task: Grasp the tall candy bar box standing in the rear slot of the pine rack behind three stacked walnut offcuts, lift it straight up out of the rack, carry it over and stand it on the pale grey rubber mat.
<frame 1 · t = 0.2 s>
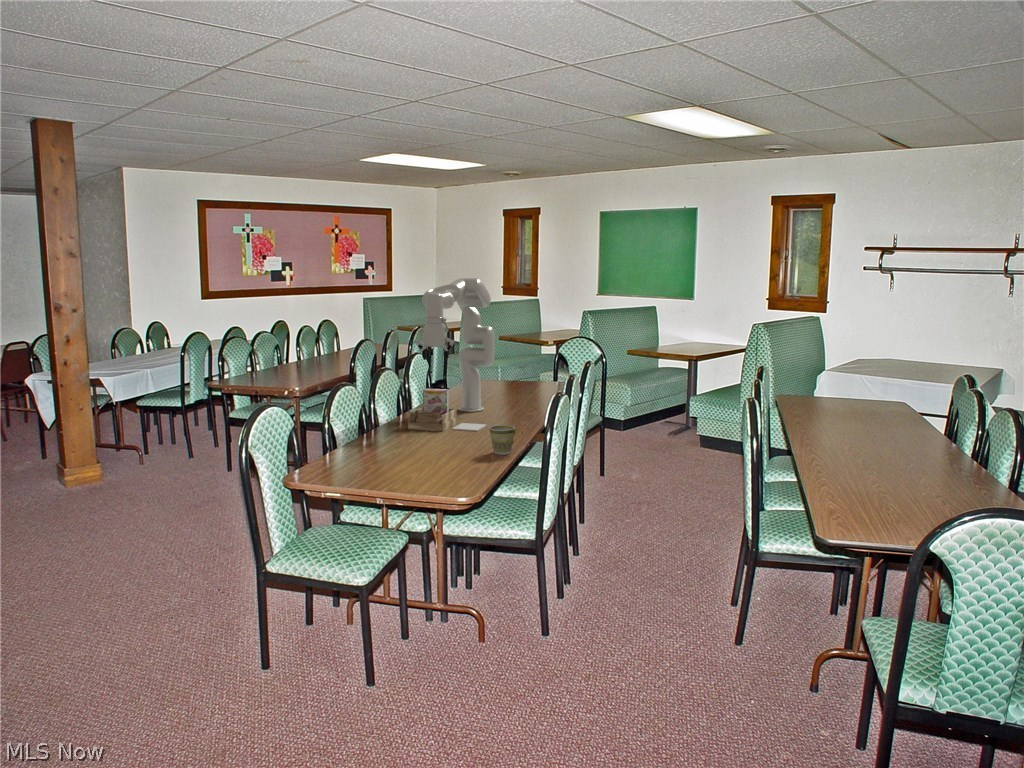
hand: (435, 359, 334), 31 cm above the table, fingers open, 9 cm apart
candy bar box: (436, 425, 345), on the table
rack: (432, 426, 342), on the table
ceramic cup: (506, 453, 293), on the table
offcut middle: (430, 424, 338), point 2 cm above the table, touching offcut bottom, offcut top
mat: (469, 427, 338), on the table
offcut top: (429, 418, 337), point 4 cm above the table, touching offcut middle
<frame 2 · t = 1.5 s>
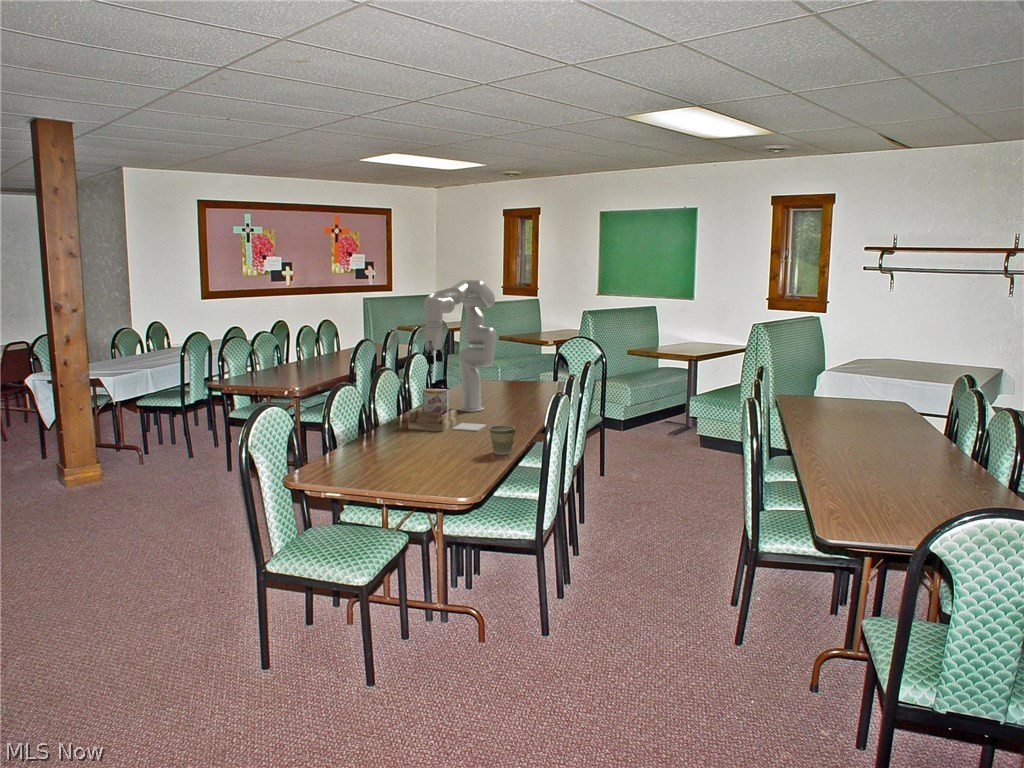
hand: (434, 362, 341), 29 cm above the table, fingers open, 9 cm apart
nothing on the table moved.
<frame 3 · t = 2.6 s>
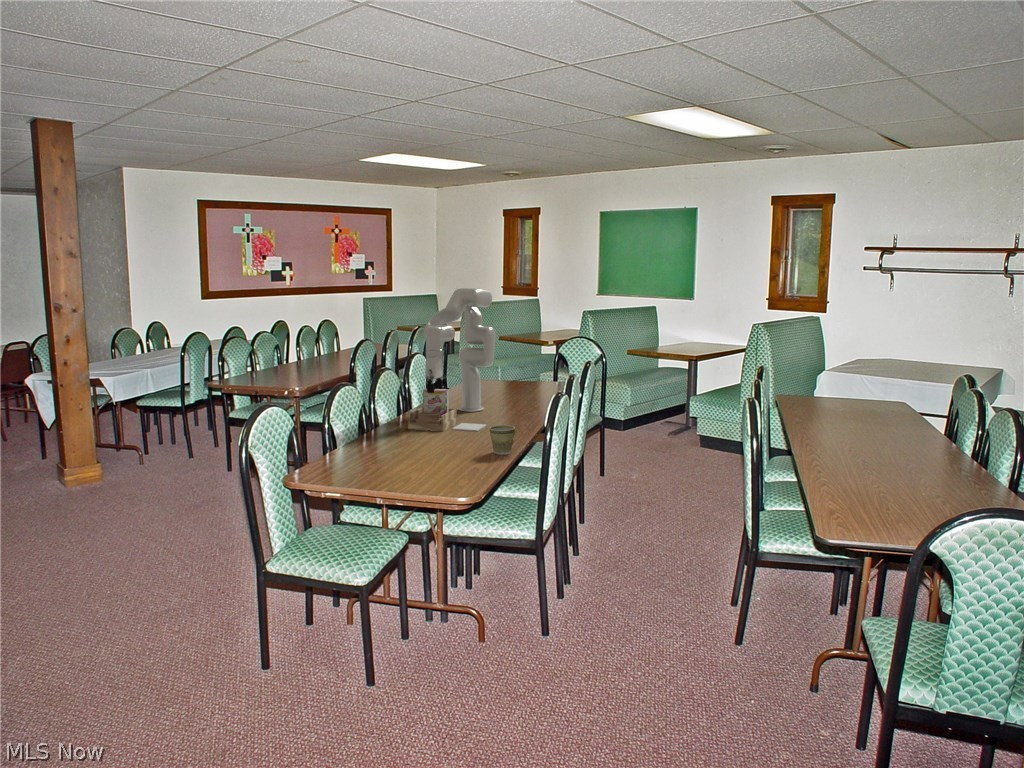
hand: (434, 391, 342), 16 cm above the table, fingers open, 9 cm apart
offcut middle: (430, 424, 338), point 2 cm above the table, touching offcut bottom
offcut top: (429, 418, 337), point 4 cm above the table
everything else where it was.
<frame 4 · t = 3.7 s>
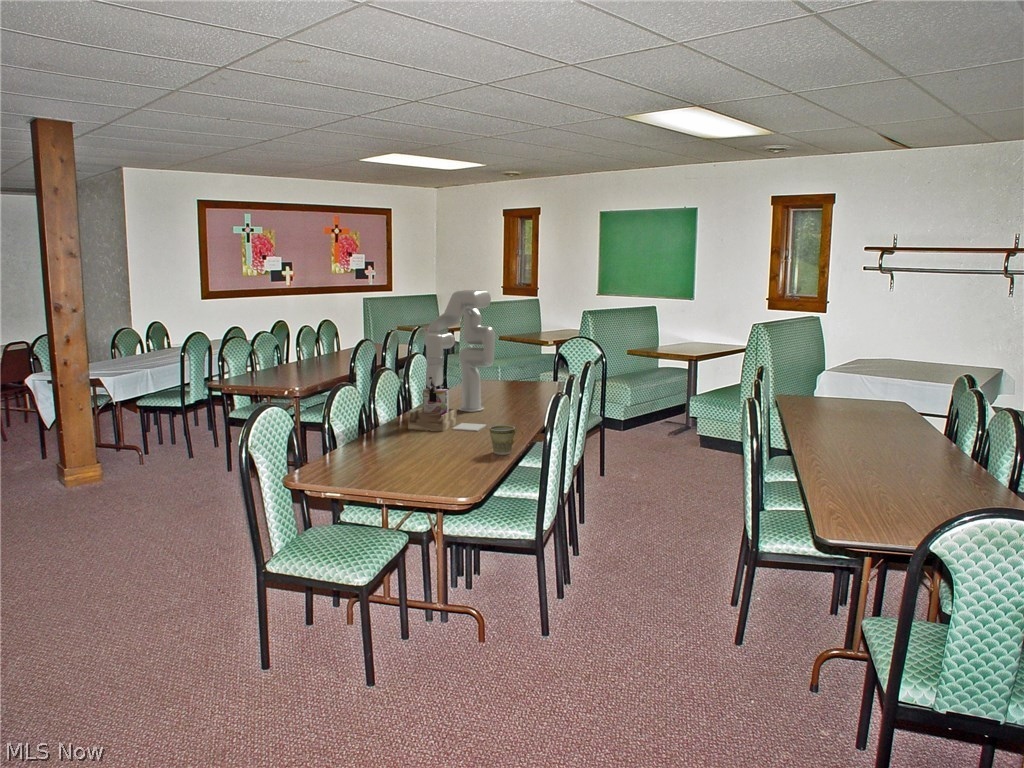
hand: (435, 400, 343), 12 cm above the table, fingers closed on candy bar box, 5 cm apart
candy bar box: (436, 425, 345), on the table, touching gripper
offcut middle: (430, 424, 338), point 2 cm above the table, touching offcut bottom, offcut top
offcut top: (429, 418, 337), point 4 cm above the table, touching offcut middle
everything else where it was.
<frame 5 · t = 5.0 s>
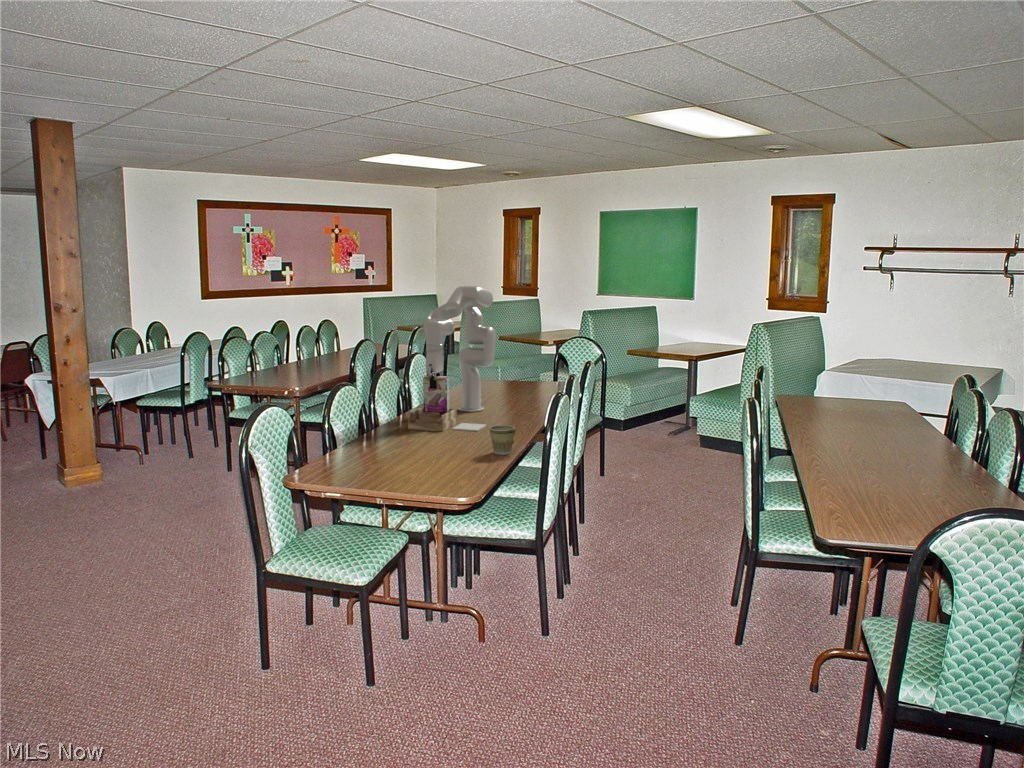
hand: (435, 387, 343), 17 cm above the table, fingers closed on candy bar box, 5 cm apart
candy bar box: (436, 412, 345), point 6 cm above the table, touching gripper
everything else where it was.
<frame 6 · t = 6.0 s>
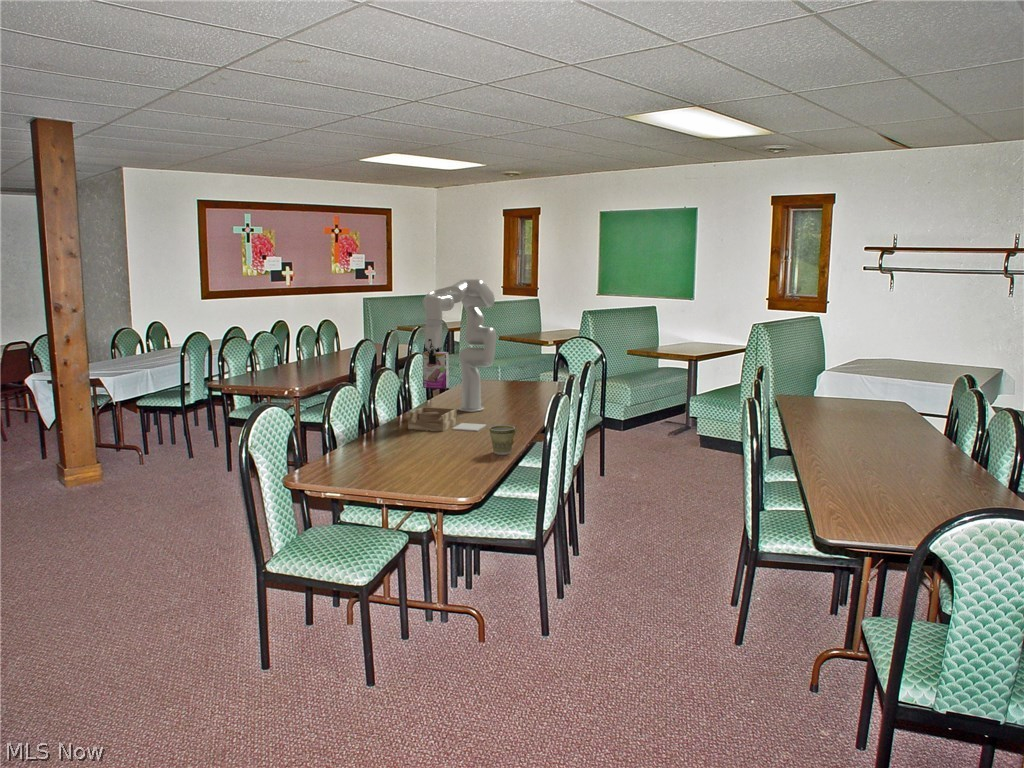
hand: (435, 362, 341), 29 cm above the table, fingers closed on candy bar box, 5 cm apart
candy bar box: (436, 388, 343), point 17 cm above the table, touching gripper
everything else where it was.
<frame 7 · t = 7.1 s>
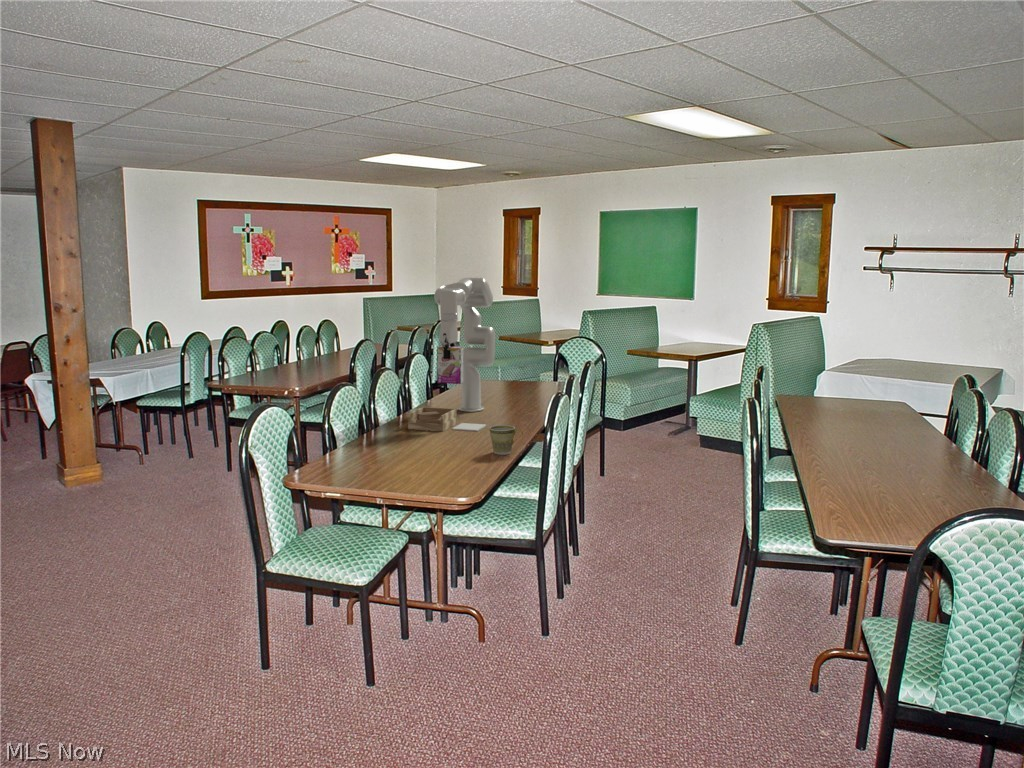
hand: (449, 357, 337), 31 cm above the table, fingers closed on candy bar box, 5 cm apart
candy bar box: (450, 383, 339), point 20 cm above the table, touching gripper
everything else where it was.
when the fingers open (13 cm above the table, at t = 11.7 s): candy bar box stays where it is, resting on mat.
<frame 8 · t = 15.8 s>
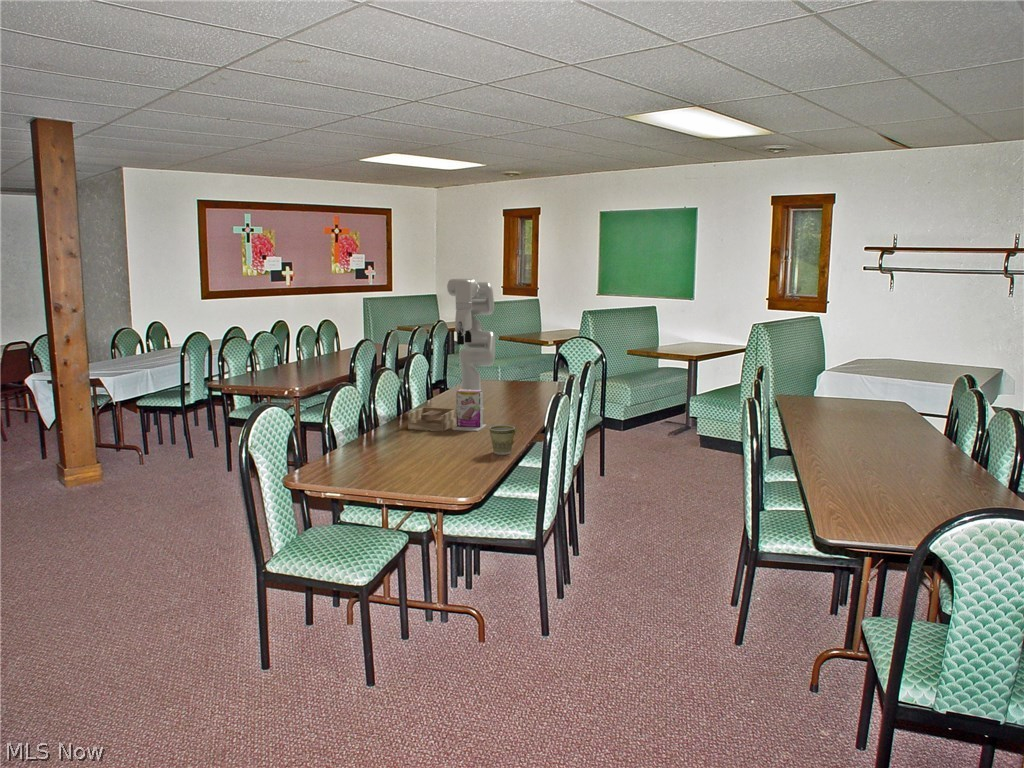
hand: (464, 343, 350), 36 cm above the table, fingers open, 9 cm apart
candy bar box: (469, 426, 339), resting on mat
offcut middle: (430, 423, 338), point 2 cm above the table, touching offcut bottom, offcut top, rack
offcut top: (431, 418, 337), point 4 cm above the table, touching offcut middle
everything else where it was.
at the end: candy bar box inside the target area on the mat (0.5 cm from its centre), point 0.4 cm above the mat's base; candy bar box tilted 0°; the gripper is holding nothing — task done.
